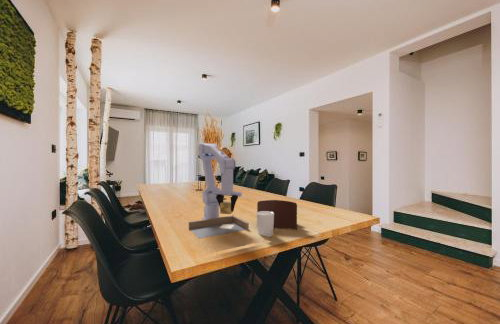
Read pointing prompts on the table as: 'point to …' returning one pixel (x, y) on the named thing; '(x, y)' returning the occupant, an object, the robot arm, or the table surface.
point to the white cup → (265, 223)
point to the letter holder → (280, 212)
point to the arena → (217, 226)
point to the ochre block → (225, 207)
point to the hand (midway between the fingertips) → (227, 210)
